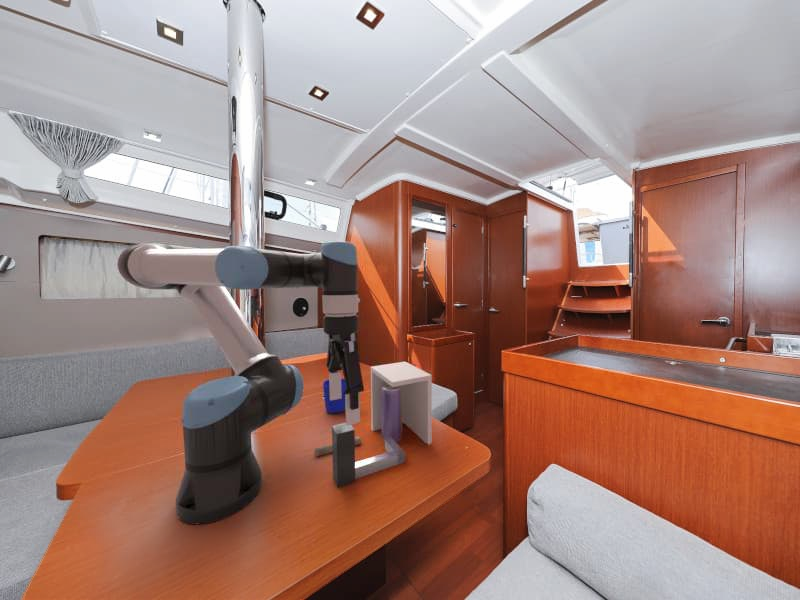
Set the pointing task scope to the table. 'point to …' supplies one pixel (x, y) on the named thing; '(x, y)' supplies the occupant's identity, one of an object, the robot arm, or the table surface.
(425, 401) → the corner shelf
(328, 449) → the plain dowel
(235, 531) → the table surface
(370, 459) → the grey angled piece
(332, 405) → the mug
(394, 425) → the beverage can
